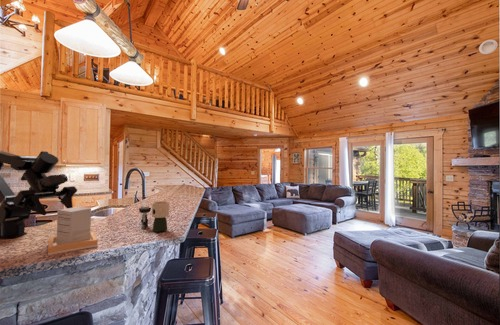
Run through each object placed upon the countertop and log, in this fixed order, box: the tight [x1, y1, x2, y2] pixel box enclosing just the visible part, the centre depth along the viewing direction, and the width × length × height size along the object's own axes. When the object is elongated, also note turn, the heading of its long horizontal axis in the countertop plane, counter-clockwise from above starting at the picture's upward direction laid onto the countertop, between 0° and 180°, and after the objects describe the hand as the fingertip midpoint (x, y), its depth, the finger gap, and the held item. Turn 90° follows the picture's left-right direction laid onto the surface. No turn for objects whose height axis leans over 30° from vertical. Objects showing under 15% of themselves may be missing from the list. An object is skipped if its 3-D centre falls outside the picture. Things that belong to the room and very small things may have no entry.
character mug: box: [151, 200, 170, 233], centre depth 102 cm, size 11×7×13 cm, turn 24°
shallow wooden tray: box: [47, 230, 99, 256], centre depth 82 cm, size 13×13×2 cm
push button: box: [138, 205, 152, 229], centre depth 107 cm, size 7×5×10 cm
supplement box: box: [56, 206, 92, 245], centre depth 83 cm, size 7×7×13 cm
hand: (59, 212), depth 84 cm, fingers open, 9 cm apart
